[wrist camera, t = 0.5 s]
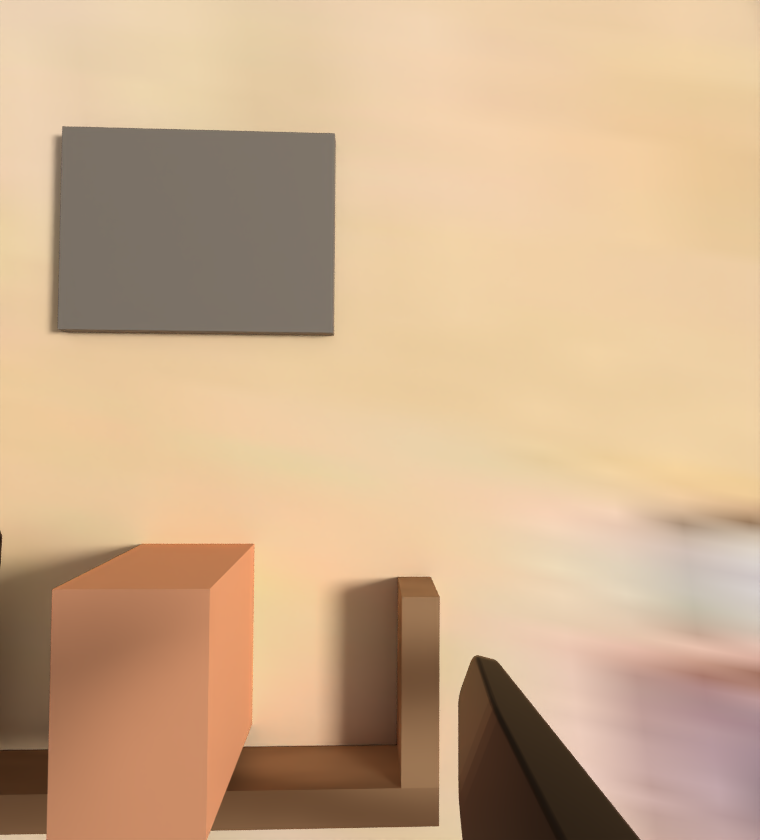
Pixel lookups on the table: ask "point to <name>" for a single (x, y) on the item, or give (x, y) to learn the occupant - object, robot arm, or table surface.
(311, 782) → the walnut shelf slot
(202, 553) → the terracotta blank
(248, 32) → the table surface
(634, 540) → the table surface
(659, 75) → the table surface
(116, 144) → the charcoal mat
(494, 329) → the table surface
